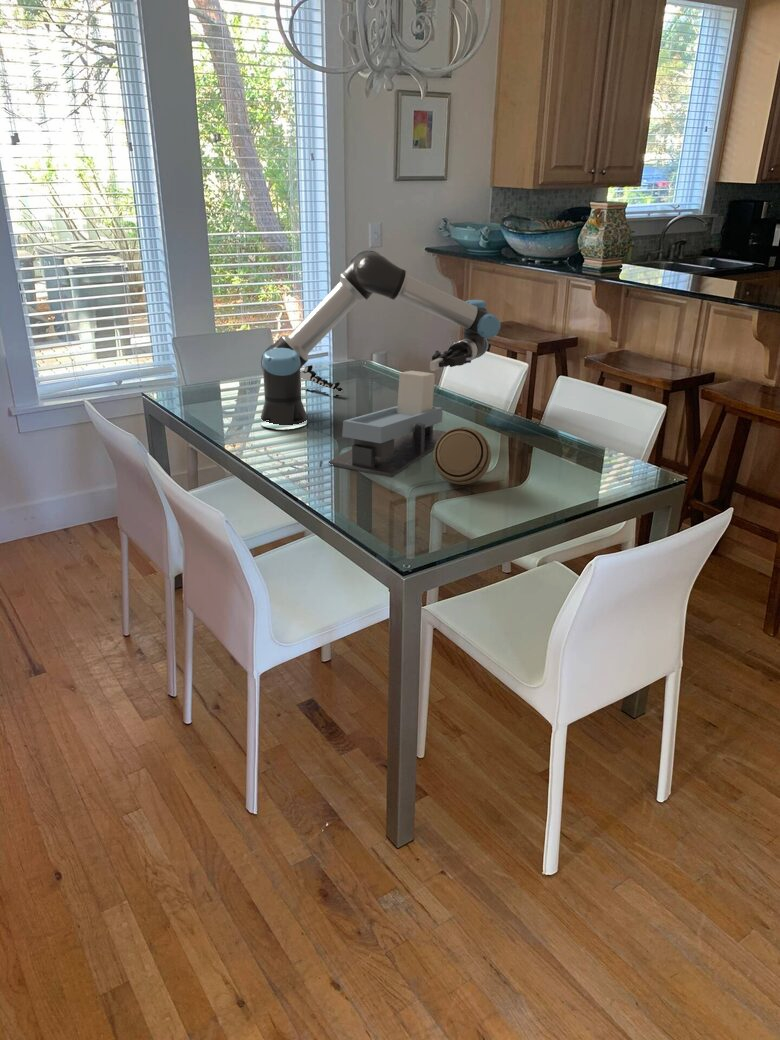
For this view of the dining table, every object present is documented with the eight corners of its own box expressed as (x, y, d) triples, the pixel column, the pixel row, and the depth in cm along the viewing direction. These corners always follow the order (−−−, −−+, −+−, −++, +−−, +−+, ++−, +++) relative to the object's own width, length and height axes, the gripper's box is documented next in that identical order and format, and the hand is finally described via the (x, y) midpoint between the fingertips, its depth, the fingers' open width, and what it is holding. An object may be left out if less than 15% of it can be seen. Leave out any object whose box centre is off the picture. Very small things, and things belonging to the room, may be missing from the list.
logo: (297, 386, 298) (300, 362, 293) (301, 385, 300) (304, 361, 295) (336, 408, 288) (340, 383, 282) (340, 407, 289) (344, 382, 284)
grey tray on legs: (404, 431, 252) (406, 402, 249) (441, 437, 246) (444, 407, 243) (339, 454, 218) (341, 420, 215) (381, 461, 212) (383, 427, 209)
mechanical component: (423, 477, 212) (424, 423, 206) (471, 470, 218) (474, 417, 212) (449, 496, 200) (451, 439, 194) (499, 488, 206) (503, 433, 199)
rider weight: (408, 409, 245) (411, 370, 242) (432, 412, 242) (435, 373, 238) (396, 412, 239) (399, 372, 235) (420, 416, 235) (423, 376, 231)
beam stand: (397, 426, 255) (398, 399, 251) (454, 436, 246) (455, 408, 243) (328, 464, 221) (327, 433, 217) (391, 477, 212) (392, 445, 208)
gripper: (479, 365, 262) (450, 380, 243) (444, 361, 268) (413, 376, 249) (480, 343, 259) (451, 356, 240) (444, 339, 265) (413, 352, 245)
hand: (432, 366), depth 244 cm, fingers closed
